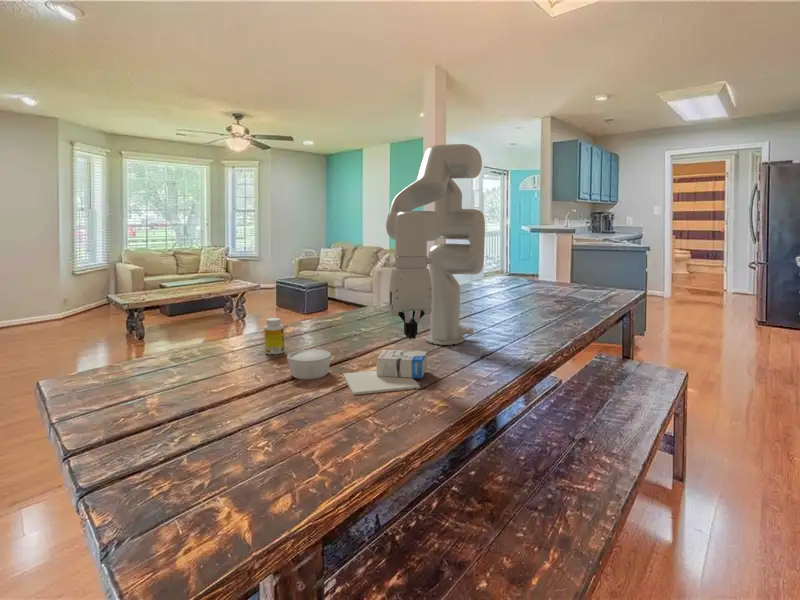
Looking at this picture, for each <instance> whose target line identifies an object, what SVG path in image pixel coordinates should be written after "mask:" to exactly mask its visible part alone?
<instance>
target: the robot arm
mask: <svg viewBox="0 0 800 600" xmlns="http://www.w3.org/2000/svg"><path fill="white" fill-rule="evenodd" d="M482 164H483V159H482V155H481V153H480V151H479V150H478V148H476V147H474V146H472V145H470V144H466V143H456V144H455V143H454V144H451V143H450V144H436V145H431V146H429V147H428V148H427V149H426V151H425V152H424V155H423V157H422V161H421V163H420V166H419V169H418V174H417V177H416V180H415V181H414V182H412V183H410V184H409V185H407V186H406V187H405V188H403V190H401V191H400V192H399V193H397V195H395V197H394V198H393V200H392V202H391V204H390V208H389V210H388V214H387V218H386V223H385V227H386V228H385V229H386V233H387V236H388V237H389V238H390V239H392V240H393V241H395V268H392V269H391V272H390V273H391V274H390V278H389V289H388V306H389V307H390V308H389V311H388V313H389V315H391V316H394V317H399V319H401V320H402V321H403V334H404V335H405V337H406V338H407V339H409V340H412V339H414V340H415V339H416V337H417V336H416V335H418V323H419V322H420V320H421V319H422V317H423V316H424V315H429V314H430V320H429V322H430V323H429V324H430V326H429V329H430V331H429V333H428V334H427V335H426V336H425V337H424V338H425V341H426V342H427V343H430V344H432V343H433V345H438V344H439V345H440V346H453V344H455V345H459V343H460V344H462V343H464V342H465V337H464V336H465V335H473V334H474V329H473V327H469V328H467V327H463V326H461V325H460V324H461V323H460V320H461V319H460V317H461V315H460V314H461V287H460V286H461V285H460V284H459V282H458V280H457V279H456V278H455V276H454V275H470V276H471V275H479V274H480V273H481V272H482V271H483V269H484V262H485V261H484V259H485V239H486V238H485V236H486V235H485V234H486V220H485V219H486V218H485V215H484V213H483V212H482V211H481V210H479V209H476V208H462V207H463V192H462V190H461V189H460V187H459V186H458V184H457V183H456V181H454V180H453V179H475V178H477V177H478V176H479V175H480V173H481V171H482V167H483V165H482ZM432 203H434V211H432V210H415V209H418V208H420V207H424V206H425V205H429V204H432ZM438 239H443V240H462V241H464V240H465V241H469V243H468V244H467V243H465V244H464V243H438V244H434V245H433V246H432V247H430V249H429V251H427V250H428V242H433V241H436V240H438ZM427 253H428V254H427ZM427 267H428V268H427ZM410 311H411V316H410ZM410 317H411V318H410ZM439 345H438V346H439Z"/></svg>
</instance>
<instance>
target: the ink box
mask: <svg viewBox="0 0 800 600" xmlns="http://www.w3.org/2000/svg"><path fill="white" fill-rule="evenodd" d="M427 363H428V351H424V350H423V351H420V350H403V349H401V350H400V349H398V350H397V349H386V348H385V349H383V350H382V352H381V353H380V354H379V355H378V357H376V371H377V376H389V377H407V378H413V379H423V377H424V375H425V373H426V371H427V369H428V368H427V367H428V364H427Z"/></svg>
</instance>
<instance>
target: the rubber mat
mask: <svg viewBox="0 0 800 600" xmlns="http://www.w3.org/2000/svg"><path fill="white" fill-rule="evenodd" d="M342 376H343V378H344V380H345V382H346V384H347V386H348V387H349V389H350V391H351V393H352V395H353V396H355V395H365V394H375V393H377V394H378V393H385V392H395V391H404V390H405V389H407V390H414V388H416V389H420V388H421V386H420V384H419V383H418V382H417V381H416V380H415V378H407V377H389V376H377V370H369V371H368V370H367V371H359V372H358V371H357V372H344V373H342ZM405 391H406V390H405Z"/></svg>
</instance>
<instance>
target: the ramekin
mask: <svg viewBox="0 0 800 600" xmlns="http://www.w3.org/2000/svg"><path fill="white" fill-rule="evenodd" d="M331 358H332V353H331V352H329V351H328V350H324V349H317V348H316V349H314V348H312V349H301V350H296V351H293V352H291V353H289V354H288V355H287V357H286V361H287V362H288V367H289V372H290V375H291V376H292V377H294V379H299V380H315V379H320V378H323V377H325V376H326V375H327V374H328V373H329V370H330V365H331Z"/></svg>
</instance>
